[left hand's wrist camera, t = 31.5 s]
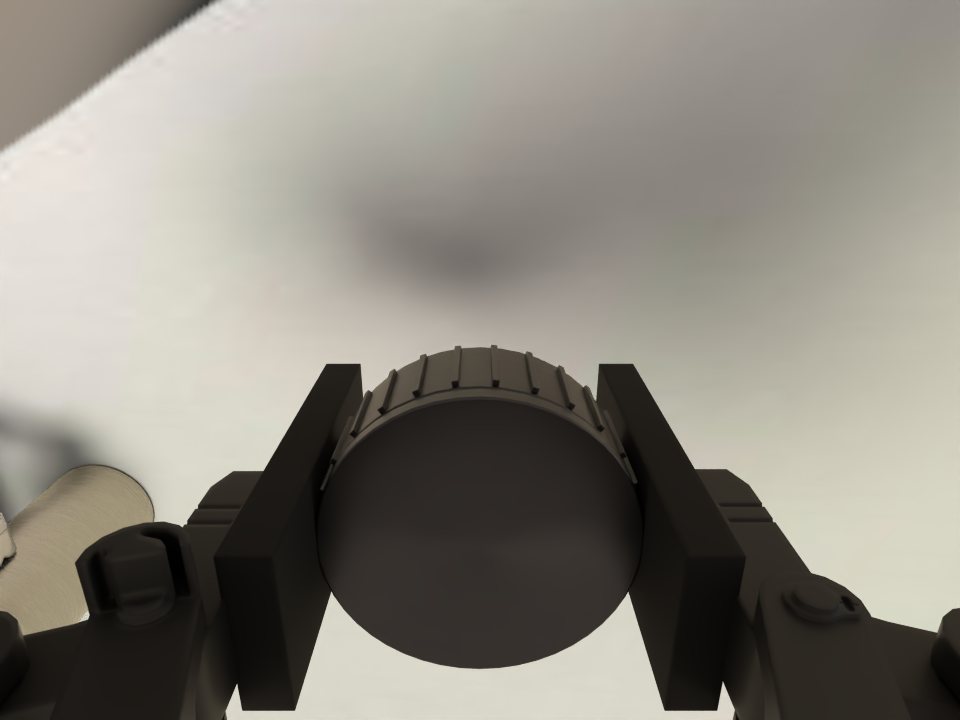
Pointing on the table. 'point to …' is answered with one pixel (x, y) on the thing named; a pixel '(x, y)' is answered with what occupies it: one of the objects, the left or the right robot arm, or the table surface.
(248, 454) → the table surface
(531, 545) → the lid
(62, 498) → the beige long cylinder
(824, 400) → the table surface
